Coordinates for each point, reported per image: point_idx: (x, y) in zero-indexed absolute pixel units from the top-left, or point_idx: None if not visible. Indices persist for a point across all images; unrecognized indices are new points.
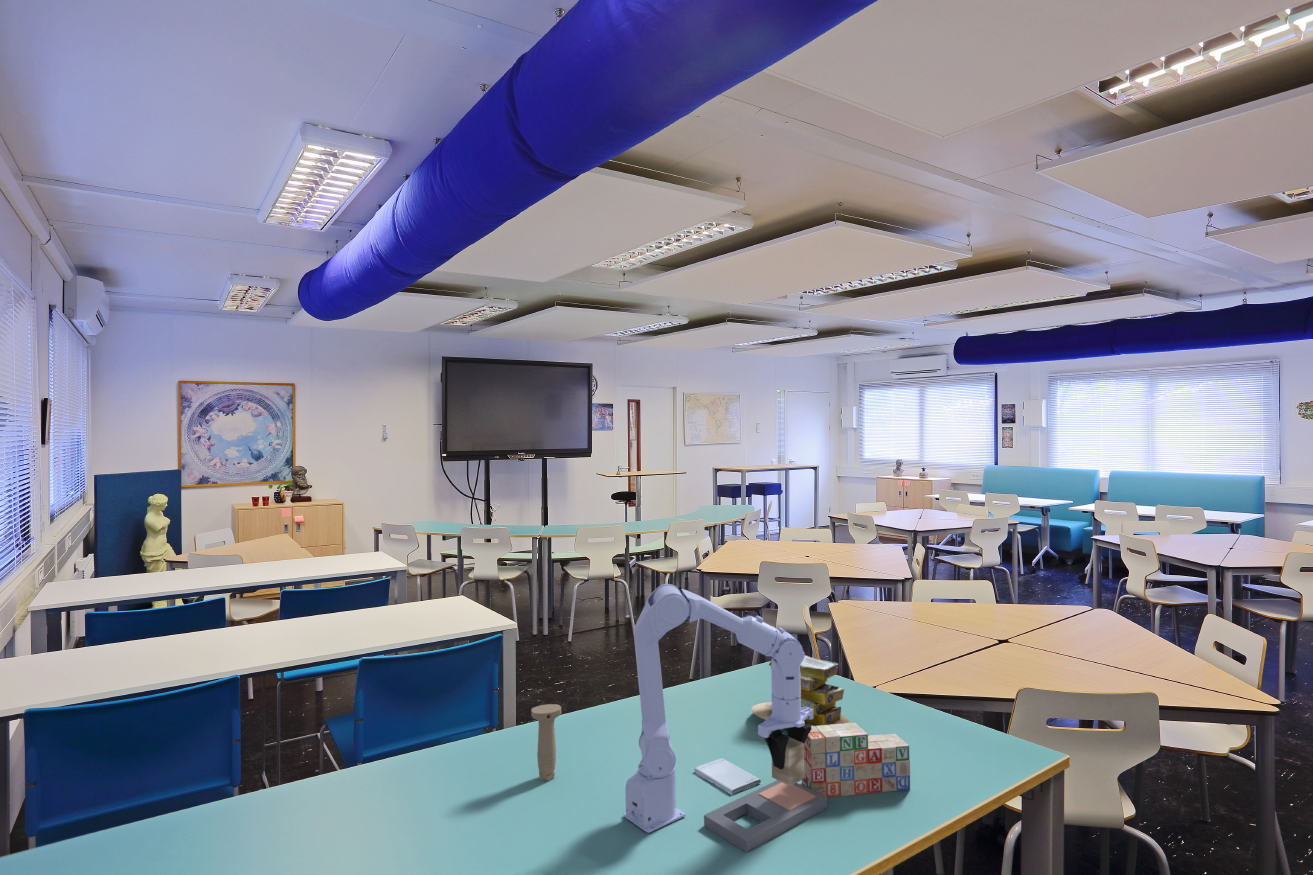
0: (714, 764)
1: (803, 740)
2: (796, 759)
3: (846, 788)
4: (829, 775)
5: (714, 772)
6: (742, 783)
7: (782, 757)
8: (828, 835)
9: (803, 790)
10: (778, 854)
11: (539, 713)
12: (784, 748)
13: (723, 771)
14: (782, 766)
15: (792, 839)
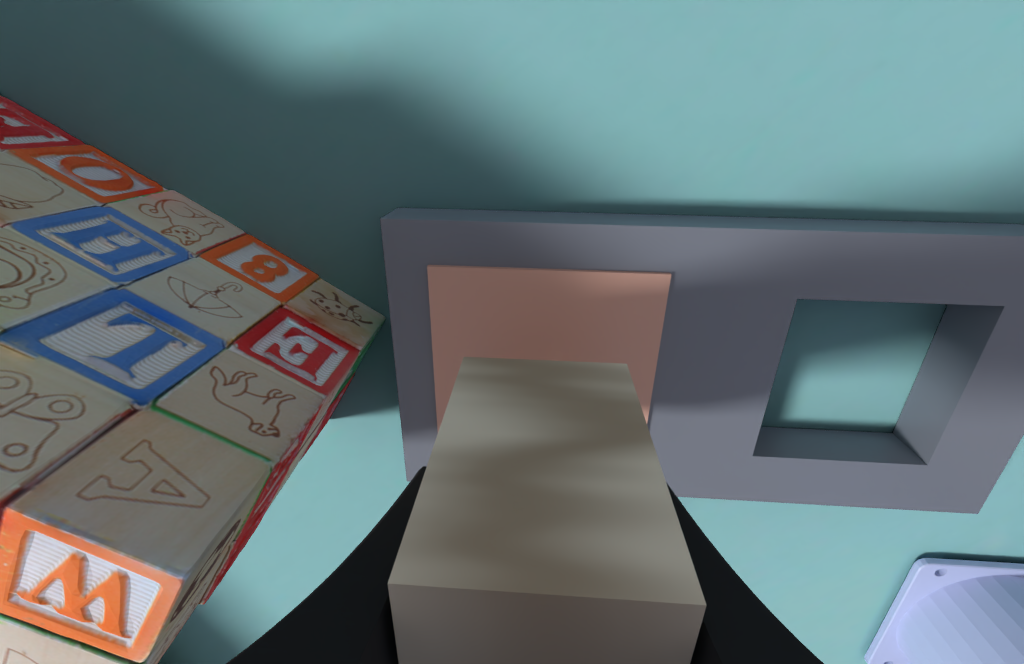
0: None
1: (346, 616)
2: (549, 469)
3: (192, 221)
4: (239, 306)
5: None
6: None
7: (715, 558)
8: (631, 9)
9: (438, 346)
10: (1002, 89)
11: None
12: (745, 649)
13: None
14: (669, 490)
15: (807, 135)
